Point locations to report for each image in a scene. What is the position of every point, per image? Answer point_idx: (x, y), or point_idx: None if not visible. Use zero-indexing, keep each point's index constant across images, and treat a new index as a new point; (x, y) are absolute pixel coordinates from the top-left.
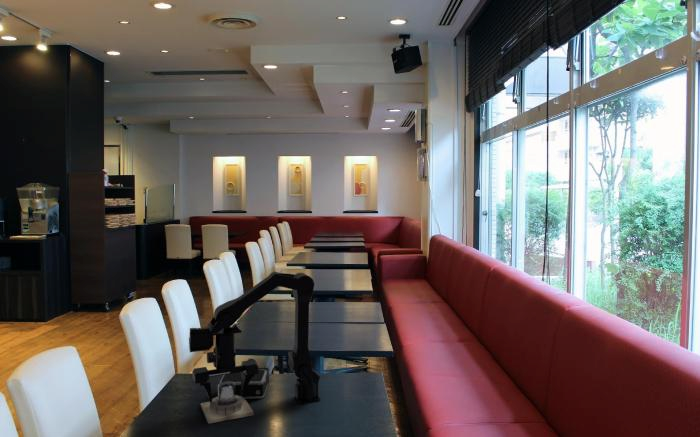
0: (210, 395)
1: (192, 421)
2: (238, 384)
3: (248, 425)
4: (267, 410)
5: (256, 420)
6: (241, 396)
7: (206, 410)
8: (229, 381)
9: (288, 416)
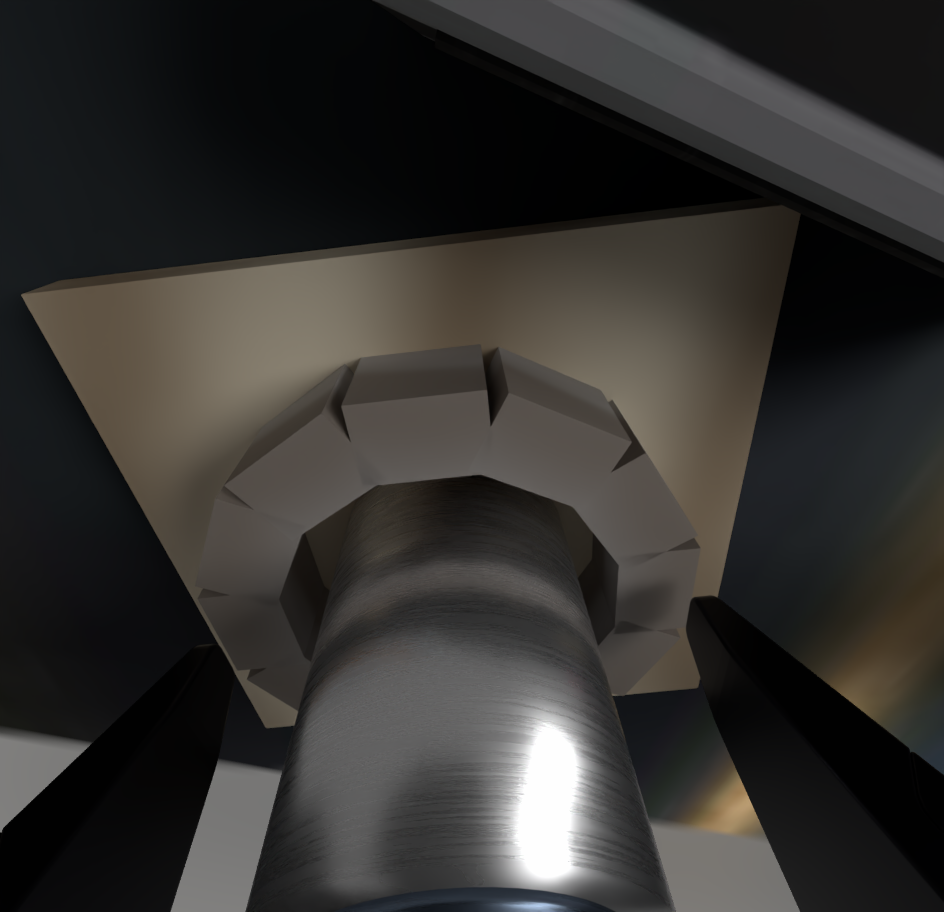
0: (171, 851)
1: (105, 635)
2: (905, 242)
3: None
4: (848, 610)
5: (668, 724)
6: (689, 639)
7: (200, 556)
8: (582, 868)
9: (918, 723)
